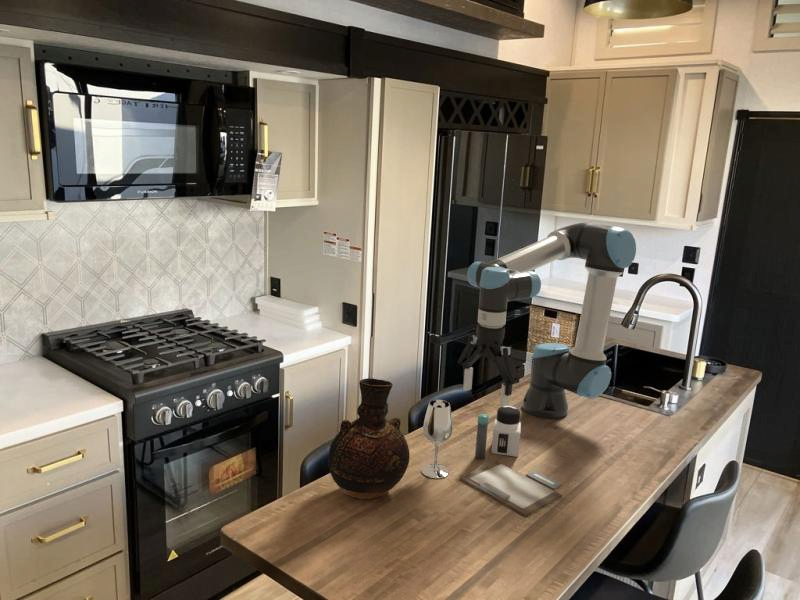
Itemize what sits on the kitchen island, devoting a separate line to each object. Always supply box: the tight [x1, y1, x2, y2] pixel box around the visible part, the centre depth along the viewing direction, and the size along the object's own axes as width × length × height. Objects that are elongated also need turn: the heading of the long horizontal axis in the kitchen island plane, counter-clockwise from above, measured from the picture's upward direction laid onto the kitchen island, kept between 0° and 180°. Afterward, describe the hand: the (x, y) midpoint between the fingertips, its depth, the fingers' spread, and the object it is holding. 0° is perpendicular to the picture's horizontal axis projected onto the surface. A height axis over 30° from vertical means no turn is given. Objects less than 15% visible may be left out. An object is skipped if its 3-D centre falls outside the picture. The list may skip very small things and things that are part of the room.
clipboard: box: [459, 461, 563, 518], centre depth 169 cm, size 15×22×2 cm
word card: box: [525, 470, 563, 491], centre depth 174 cm, size 4×9×1 cm, turn 41°
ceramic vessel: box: [327, 377, 410, 500], centre depth 161 cm, size 21×18×30 cm
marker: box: [474, 413, 490, 461], centre depth 184 cm, size 3×3×13 cm
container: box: [491, 405, 522, 458], centre depth 189 cm, size 8×8×13 cm
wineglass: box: [420, 399, 453, 479], centre depth 174 cm, size 8×8×20 cm
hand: (485, 397), depth 180 cm, fingers open, 13 cm apart
